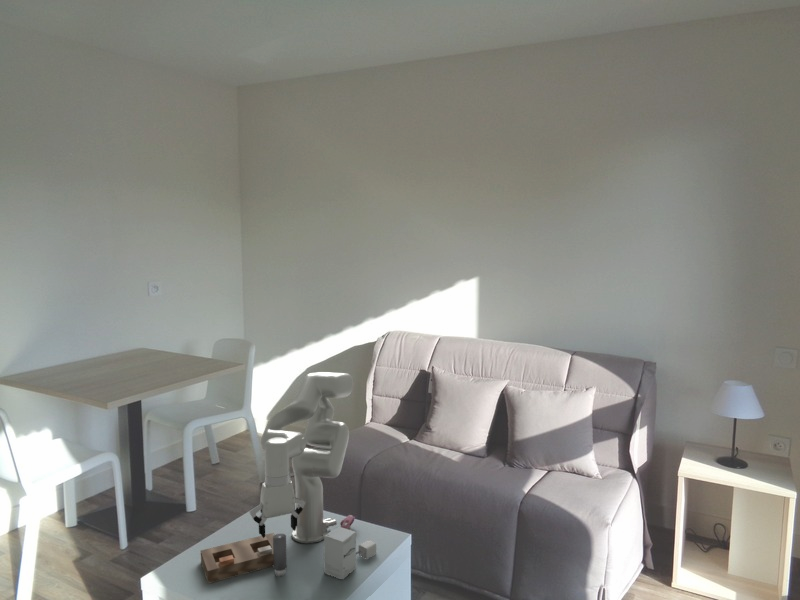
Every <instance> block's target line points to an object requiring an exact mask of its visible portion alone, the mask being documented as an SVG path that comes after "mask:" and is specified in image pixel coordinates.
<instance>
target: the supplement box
mask: <svg viewBox="0 0 800 600" xmlns="http://www.w3.org/2000/svg"><path fill="white" fill-rule="evenodd" d="M356 533H357V531H354V530H352V529H351V530H348V529H345V528H342V526H336V527H335V528H333V529H332V530H330V531H328V534H326V535H325V536H324V539H323V547H324V549H323V550H324V552H323V556H324V557H323V558H324V559H323V560H324V564H323V565H324V574H325V575H328V576H330V575H331V577H333V576H334V577H333V578H335V577H336V579H338V578H339V579H338V580H340V579H343V580H344V579H345V578H347V576H349V575H350V574H351V573H353V572H354V571H355V570H356V569H357V554H356V552H357V540H356V539H357V534H356ZM354 569H355V570H354ZM353 570H354V571H353ZM349 573H350V574H349ZM348 574H349V575H348Z"/></svg>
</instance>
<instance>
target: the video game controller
mask: <svg viewBox="0 0 800 600" xmlns="http://www.w3.org/2000/svg"><path fill="white" fill-rule="evenodd" d="M355 518H356V516H354V515H352V514H349V515H347V516H346V517H345V518H344V519H342V520H341V522H340V527H342V528H345V529H348V530H351V531H352V529H351V526H352V524H353V523H354V521H355Z"/></svg>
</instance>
